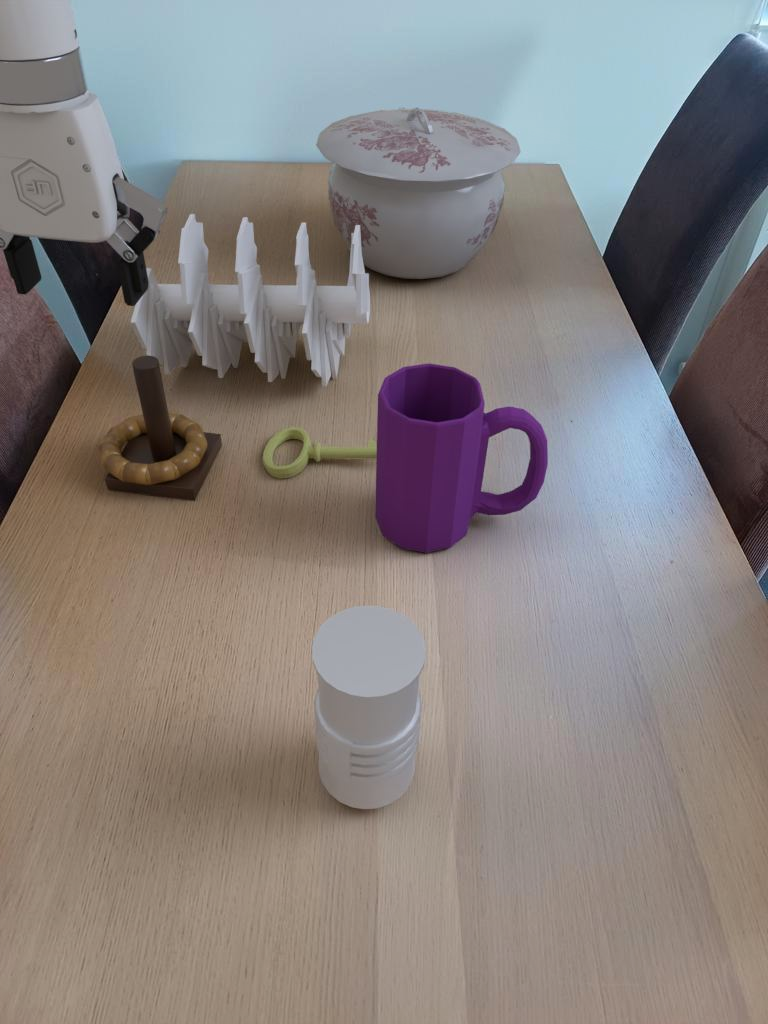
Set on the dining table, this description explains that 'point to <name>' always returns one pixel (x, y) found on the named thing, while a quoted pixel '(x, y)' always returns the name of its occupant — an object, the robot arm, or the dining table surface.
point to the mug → (443, 456)
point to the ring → (158, 470)
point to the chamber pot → (417, 187)
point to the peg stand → (161, 440)
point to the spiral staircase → (250, 310)
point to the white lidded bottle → (367, 704)
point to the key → (310, 452)
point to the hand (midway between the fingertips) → (83, 292)
